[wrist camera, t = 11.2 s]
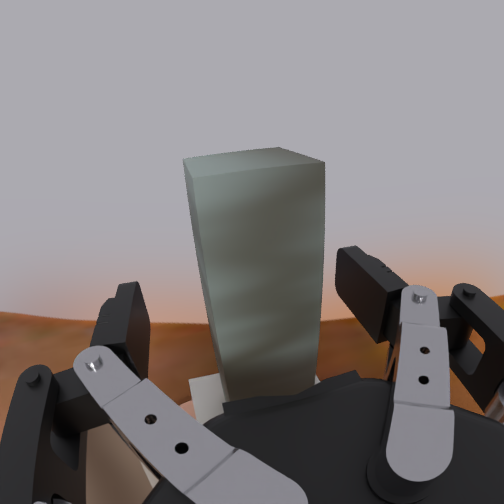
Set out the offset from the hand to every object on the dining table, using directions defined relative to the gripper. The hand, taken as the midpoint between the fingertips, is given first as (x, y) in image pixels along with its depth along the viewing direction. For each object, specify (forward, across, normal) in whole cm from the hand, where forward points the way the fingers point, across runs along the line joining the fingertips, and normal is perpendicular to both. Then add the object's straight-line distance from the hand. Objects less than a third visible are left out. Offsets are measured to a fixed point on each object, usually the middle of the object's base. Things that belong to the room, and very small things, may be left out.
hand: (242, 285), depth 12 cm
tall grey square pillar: (-2, 0, +8) cm, 8 cm away
